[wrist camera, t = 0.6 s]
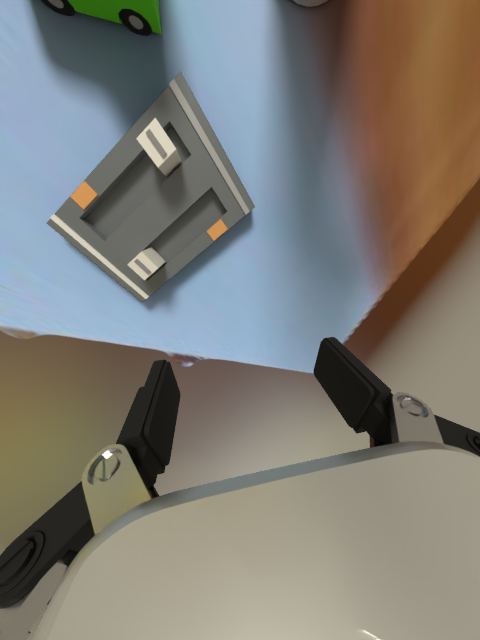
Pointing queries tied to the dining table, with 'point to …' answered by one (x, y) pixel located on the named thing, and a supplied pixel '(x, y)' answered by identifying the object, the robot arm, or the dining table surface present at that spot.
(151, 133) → the tab
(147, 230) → the switch board
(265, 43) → the dining table surface
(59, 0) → the toy car
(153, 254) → the tab
